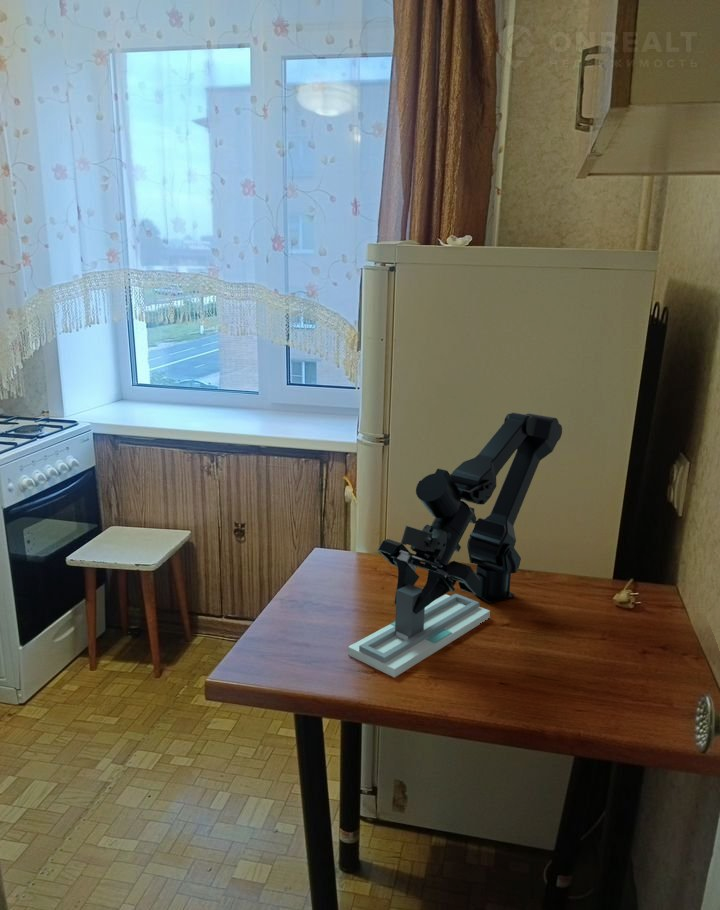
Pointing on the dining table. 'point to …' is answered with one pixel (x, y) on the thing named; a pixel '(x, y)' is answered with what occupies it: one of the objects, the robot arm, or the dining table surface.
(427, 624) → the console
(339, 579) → the dining table surface
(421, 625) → the fader
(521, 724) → the dining table surface
